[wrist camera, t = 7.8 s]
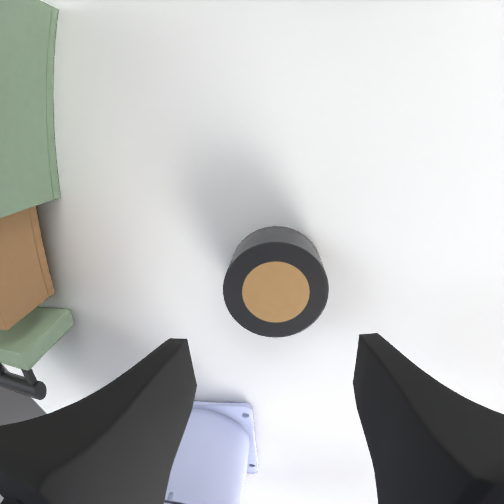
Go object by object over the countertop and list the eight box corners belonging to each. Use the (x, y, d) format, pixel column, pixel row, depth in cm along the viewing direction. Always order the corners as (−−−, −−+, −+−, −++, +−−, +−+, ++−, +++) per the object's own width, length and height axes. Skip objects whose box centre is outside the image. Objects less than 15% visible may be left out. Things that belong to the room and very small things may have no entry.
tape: (320, 308, 18) (327, 335, 15) (235, 310, 19) (228, 338, 16) (321, 224, 17) (329, 239, 14) (227, 228, 17) (217, 244, 14)
